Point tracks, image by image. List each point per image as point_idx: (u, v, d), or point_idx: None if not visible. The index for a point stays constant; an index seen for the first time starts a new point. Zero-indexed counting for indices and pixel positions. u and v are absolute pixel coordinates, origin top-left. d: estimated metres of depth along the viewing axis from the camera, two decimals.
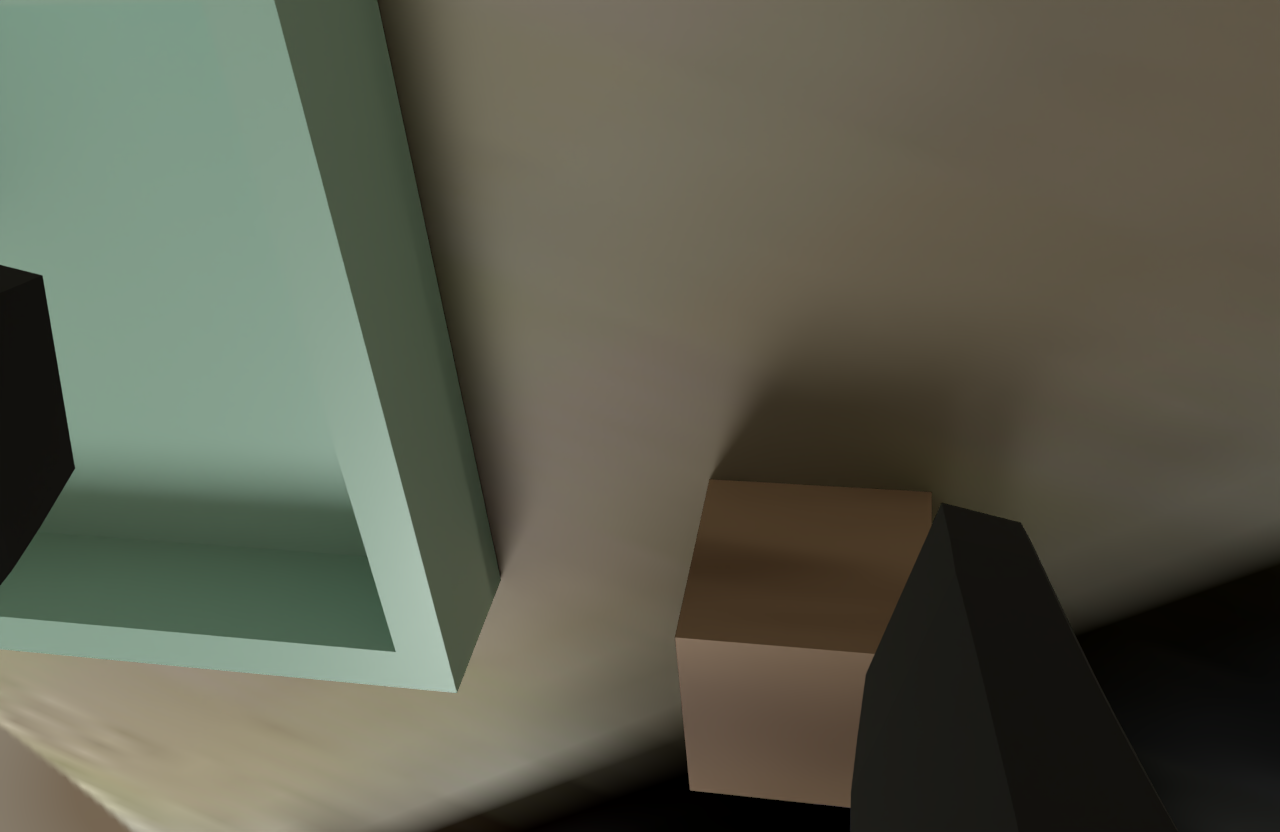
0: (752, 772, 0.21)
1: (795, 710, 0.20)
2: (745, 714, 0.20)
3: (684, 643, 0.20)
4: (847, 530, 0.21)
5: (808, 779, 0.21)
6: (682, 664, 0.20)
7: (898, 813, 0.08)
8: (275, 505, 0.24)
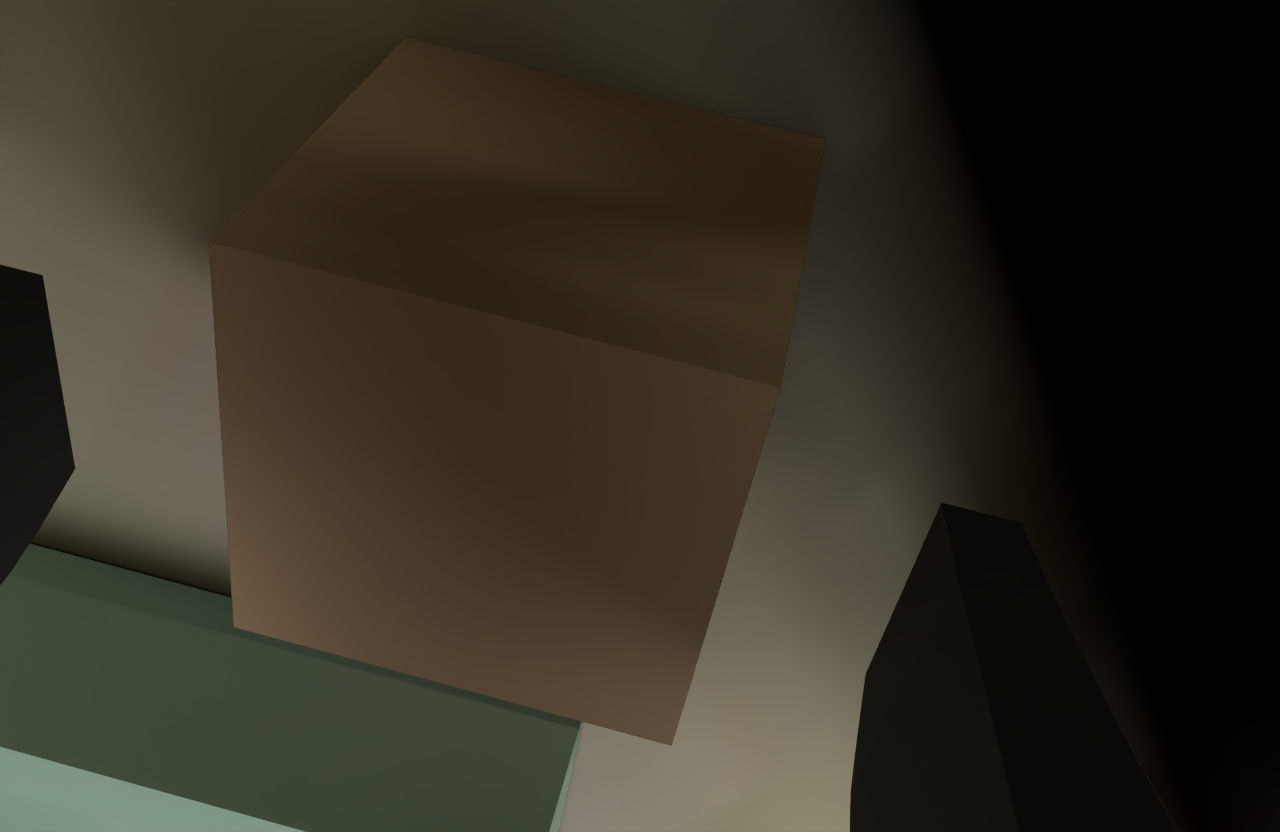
0: (612, 639, 0.10)
1: (410, 517, 0.10)
2: (433, 597, 0.10)
3: (249, 618, 0.11)
4: None
5: (638, 557, 0.09)
6: (300, 639, 0.11)
7: (898, 813, 0.08)
8: None
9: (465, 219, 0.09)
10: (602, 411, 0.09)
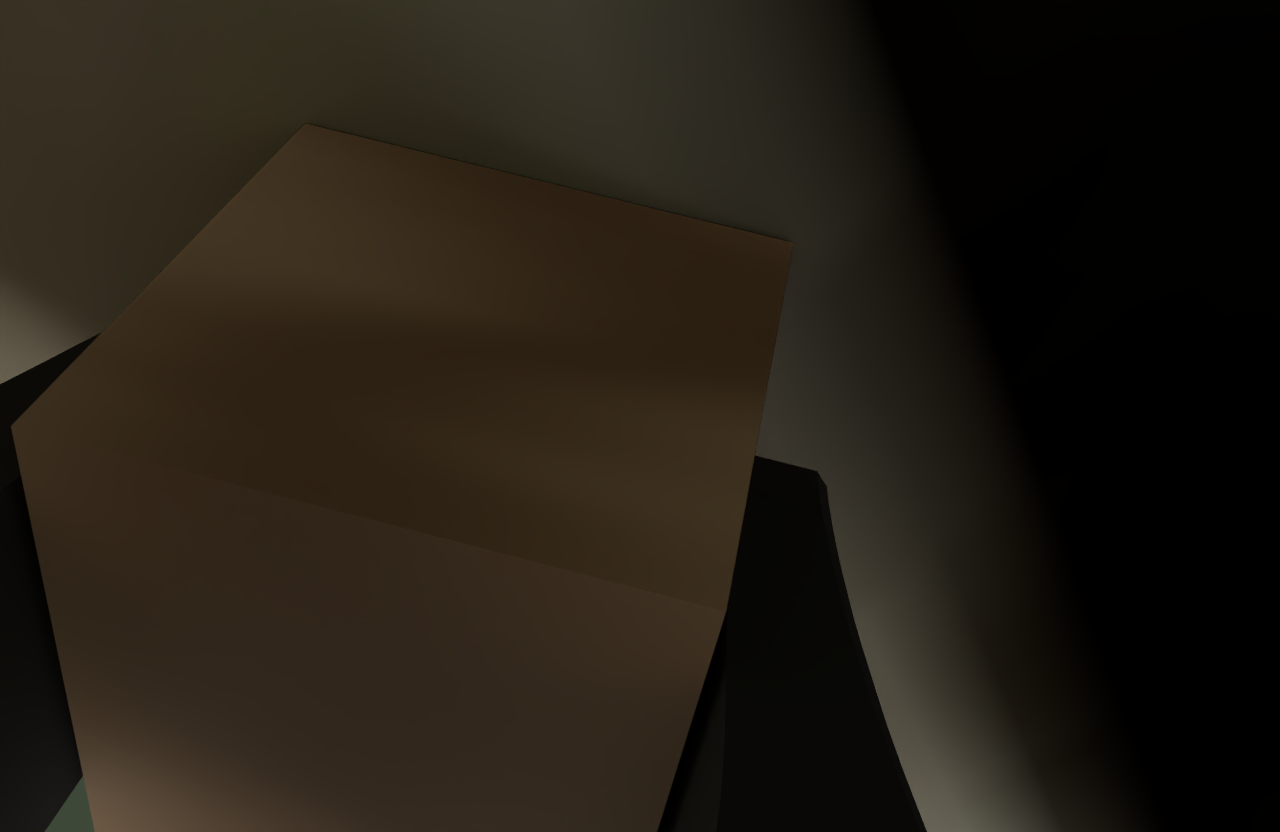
0: None
1: (287, 729, 0.08)
2: (320, 812, 0.08)
3: (112, 824, 0.09)
4: None
5: (560, 783, 0.08)
6: None
7: None
8: None
9: (345, 378, 0.07)
10: (508, 629, 0.07)
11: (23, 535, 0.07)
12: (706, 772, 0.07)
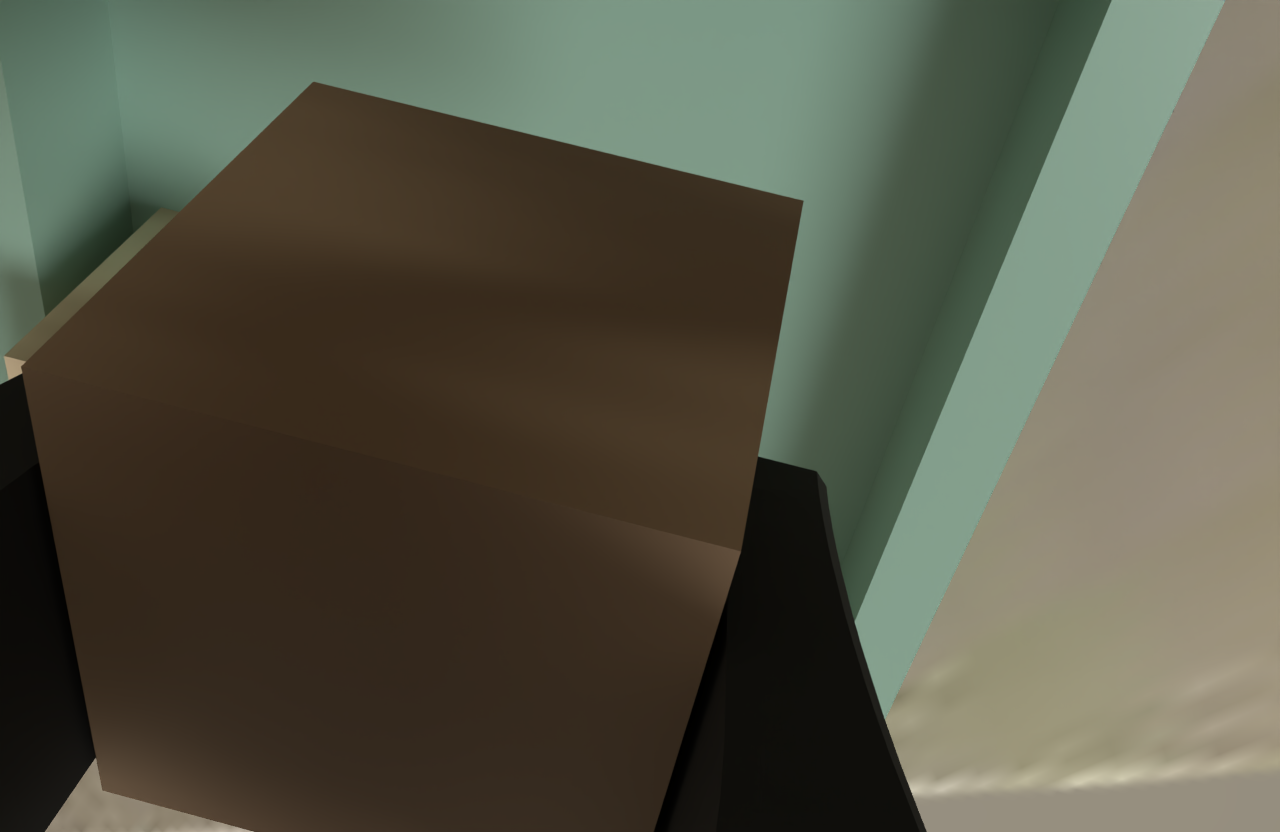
0: (547, 819, 0.08)
1: (296, 682, 0.08)
2: (329, 767, 0.08)
3: (120, 781, 0.09)
4: None
5: (571, 733, 0.08)
6: (180, 806, 0.09)
7: (678, 755, 0.08)
8: (904, 134, 0.16)
9: (356, 324, 0.07)
10: (520, 571, 0.07)
11: (23, 535, 0.07)
12: (706, 772, 0.07)
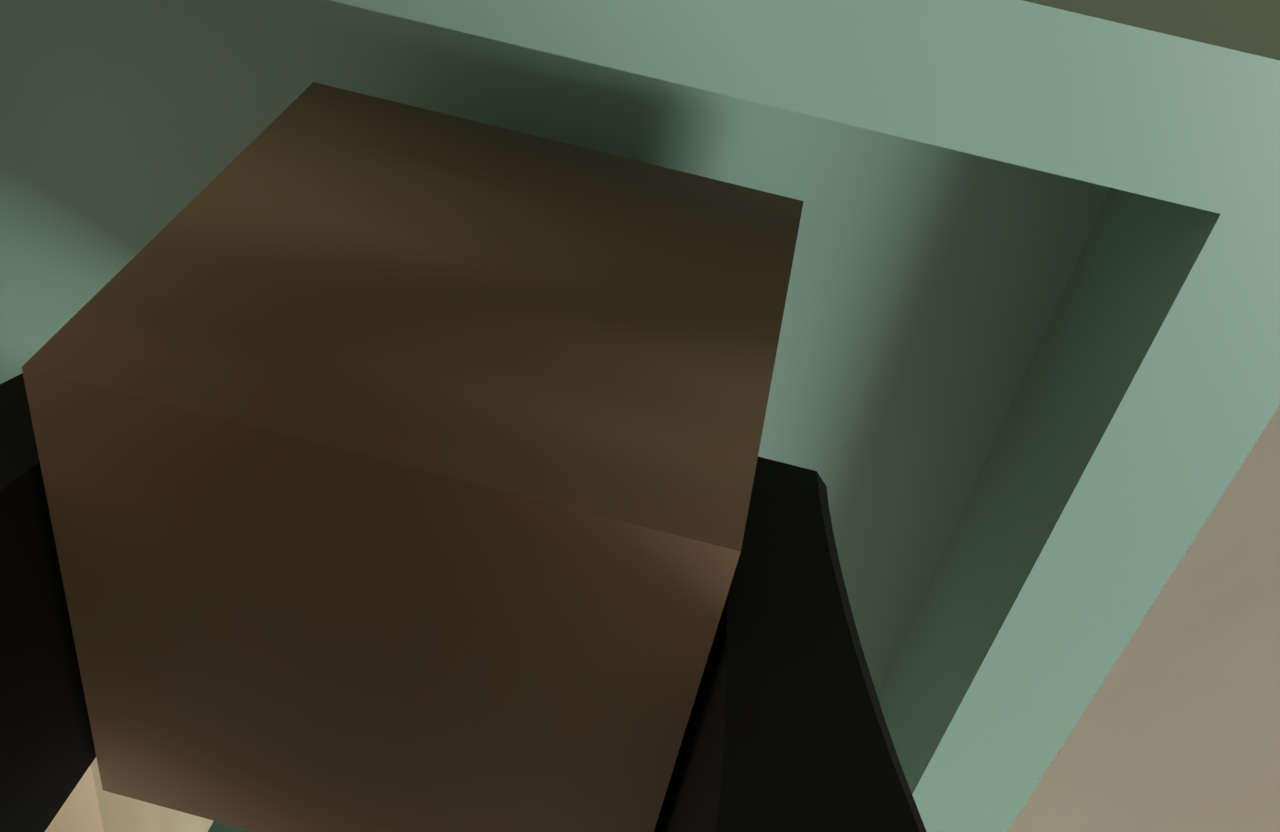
0: (547, 819, 0.08)
1: (296, 681, 0.08)
2: (331, 767, 0.08)
3: (120, 782, 0.09)
4: None
5: (572, 733, 0.08)
6: (181, 806, 0.09)
7: (678, 755, 0.08)
8: (893, 351, 0.12)
9: (357, 325, 0.07)
10: (520, 573, 0.07)
11: (23, 535, 0.07)
12: (706, 772, 0.07)
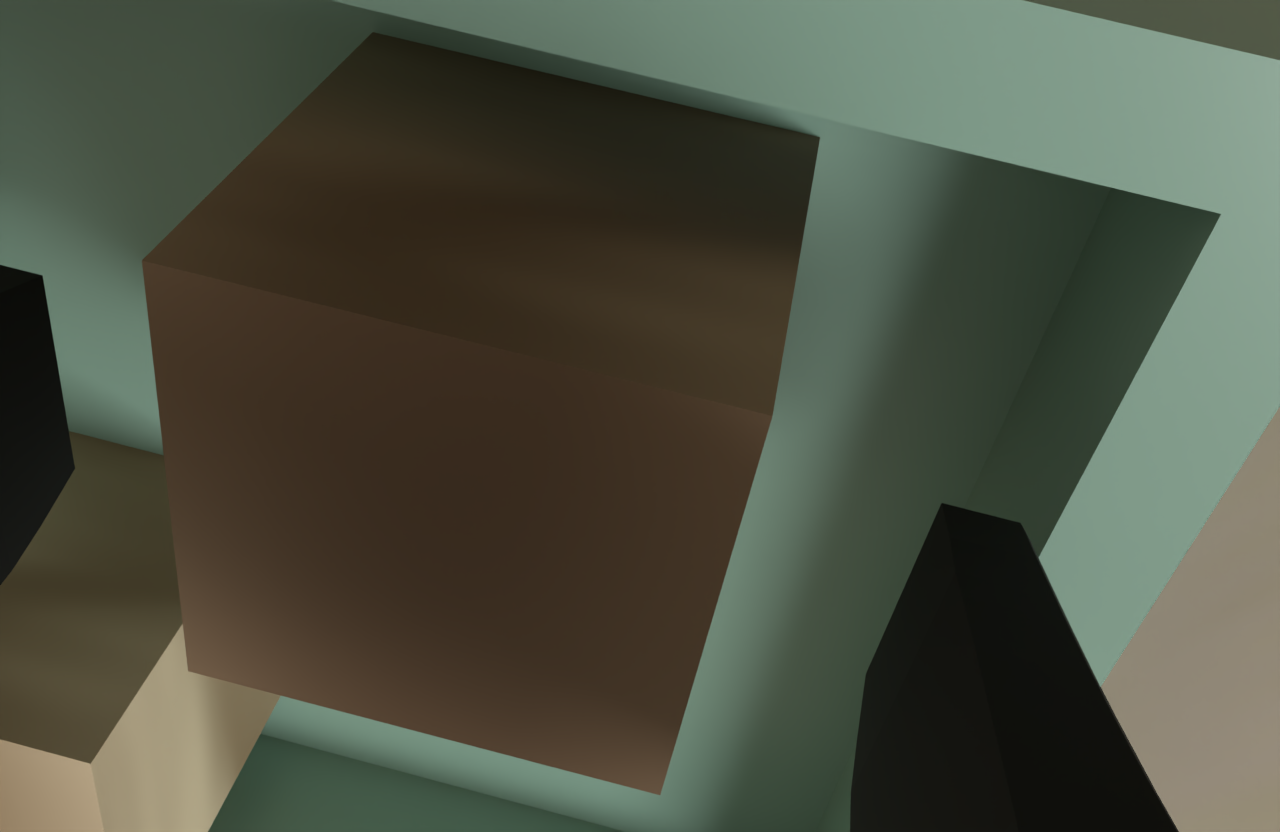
0: (594, 684, 0.09)
1: (371, 555, 0.09)
2: (399, 639, 0.09)
3: (204, 662, 0.10)
4: None
5: (620, 598, 0.09)
6: (259, 684, 0.10)
7: (898, 813, 0.08)
8: (894, 351, 0.12)
9: (427, 231, 0.08)
10: (577, 442, 0.08)
11: None
12: None
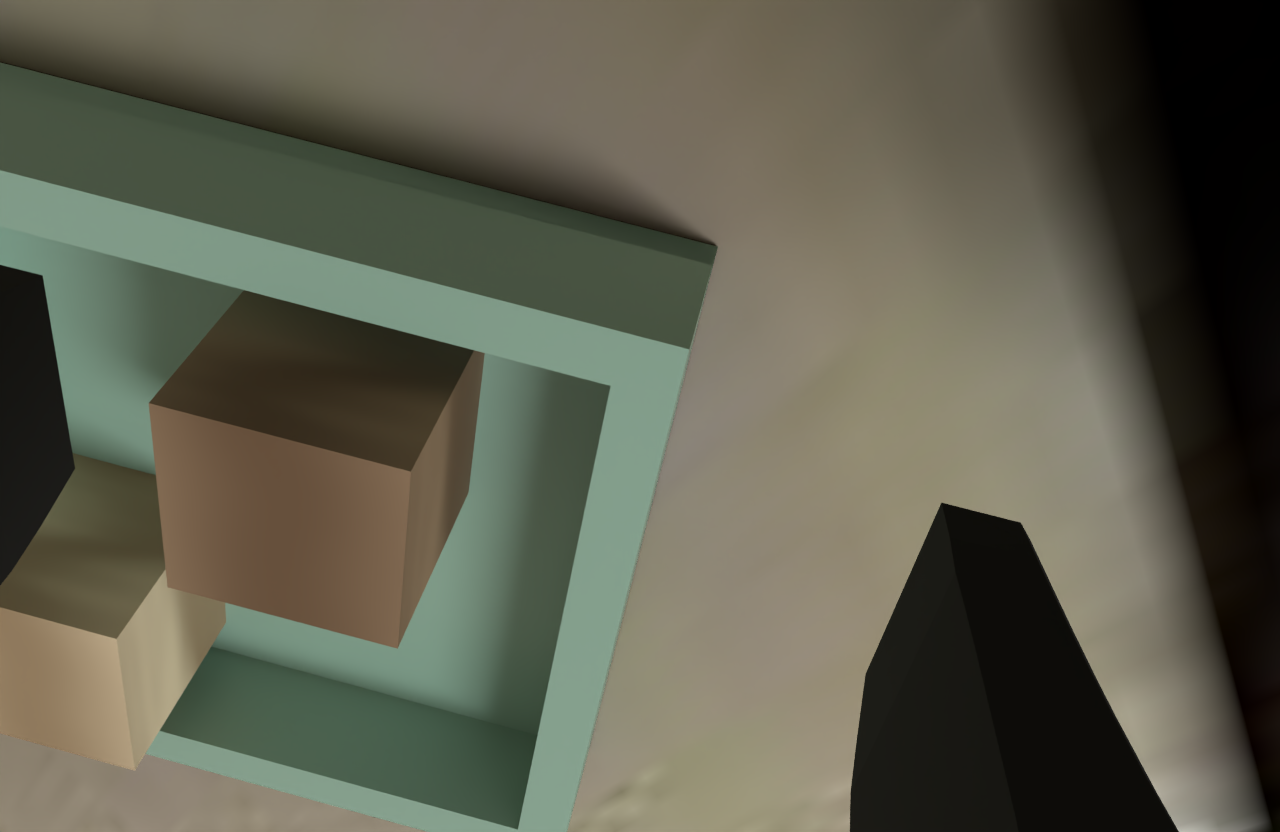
0: (358, 591, 0.20)
1: (251, 529, 0.19)
2: (267, 570, 0.20)
3: (175, 582, 0.20)
4: None
5: (363, 549, 0.19)
6: (202, 593, 0.20)
7: (899, 813, 0.08)
8: (543, 427, 0.22)
9: (275, 385, 0.19)
10: (335, 481, 0.18)
11: None
12: None
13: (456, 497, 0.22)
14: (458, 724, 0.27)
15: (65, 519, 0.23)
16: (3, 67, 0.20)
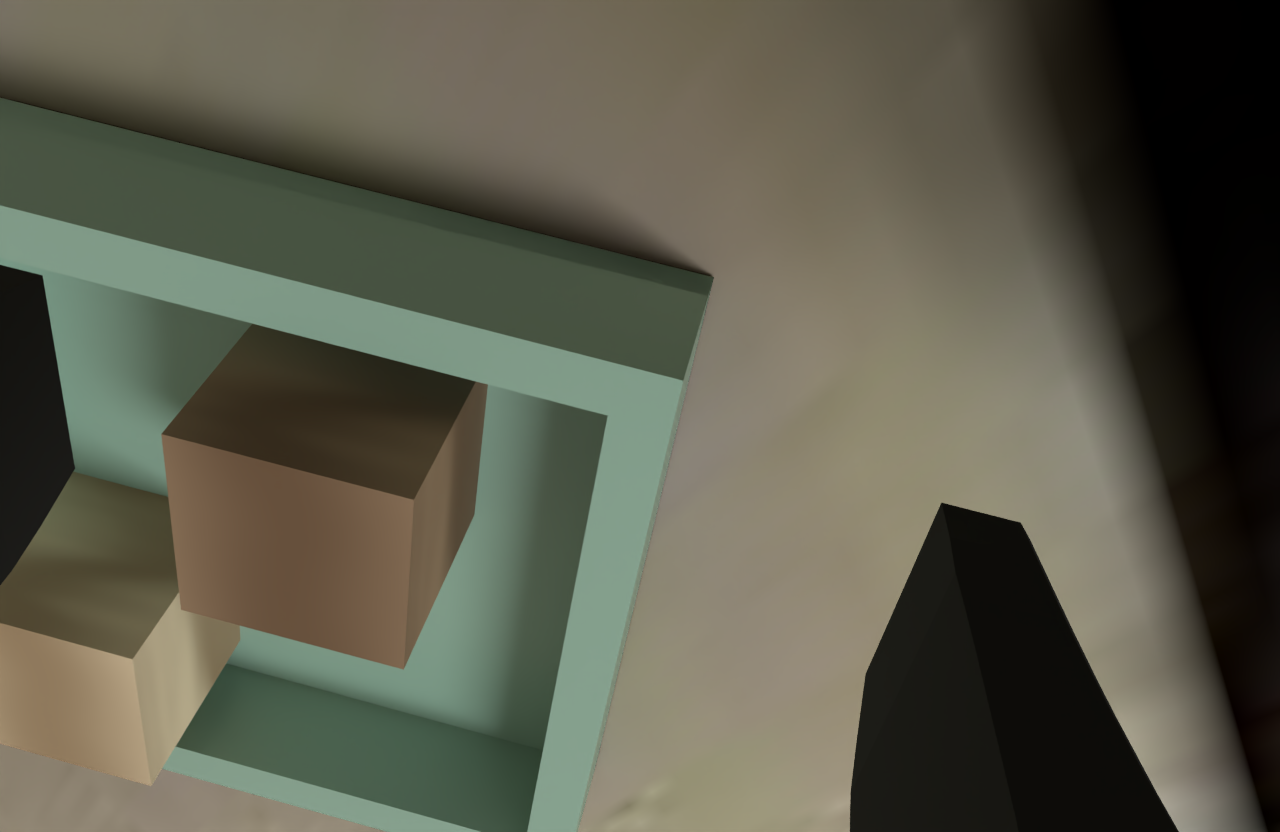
0: (365, 614, 0.20)
1: (261, 555, 0.20)
2: (277, 593, 0.20)
3: (188, 605, 0.21)
4: None
5: (369, 574, 0.20)
6: (214, 616, 0.21)
7: (898, 813, 0.08)
8: (546, 451, 0.23)
9: (283, 415, 0.19)
10: (341, 508, 0.19)
11: None
12: None
13: (461, 520, 0.23)
14: (467, 740, 0.28)
15: (83, 541, 0.24)
16: (22, 107, 0.21)
